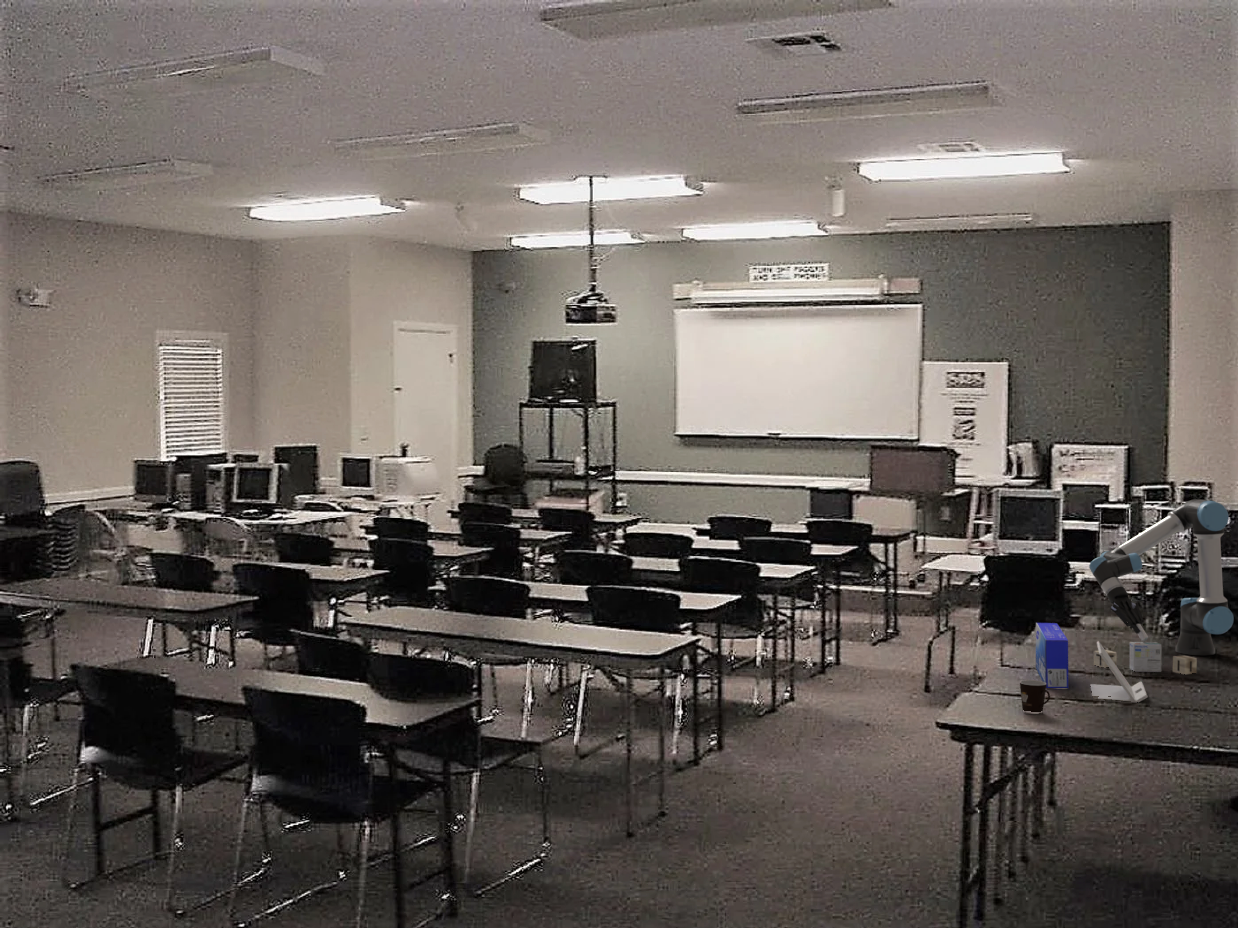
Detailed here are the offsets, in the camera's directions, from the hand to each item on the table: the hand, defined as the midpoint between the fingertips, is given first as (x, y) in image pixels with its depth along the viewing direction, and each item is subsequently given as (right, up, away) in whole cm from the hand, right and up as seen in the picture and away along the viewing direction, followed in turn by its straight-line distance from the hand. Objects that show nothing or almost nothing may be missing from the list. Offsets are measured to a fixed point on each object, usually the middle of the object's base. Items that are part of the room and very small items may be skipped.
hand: (1145, 639), depth 524 cm
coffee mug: (-66, -15, -75) cm, 101 cm away
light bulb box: (0, -12, 0) cm, 12 cm away
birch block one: (+14, -12, -4) cm, 19 cm away
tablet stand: (-27, -14, -44) cm, 53 cm away
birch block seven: (-13, -12, +8) cm, 19 cm away
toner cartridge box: (-42, -13, -17) cm, 47 cm away
